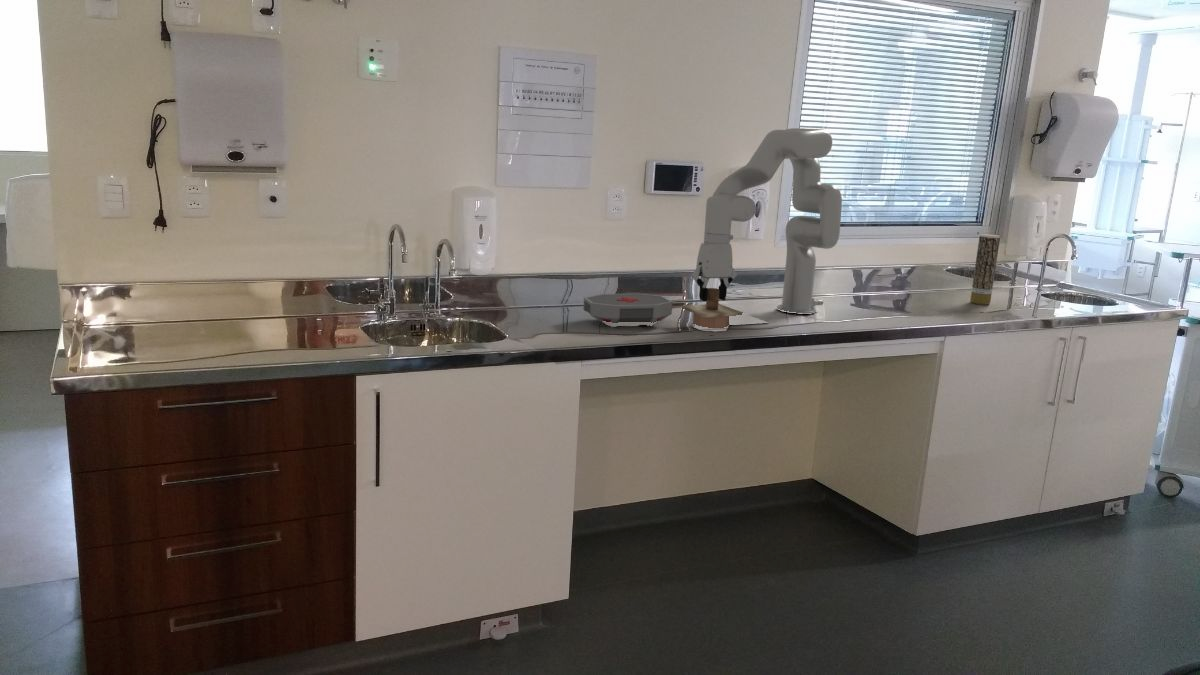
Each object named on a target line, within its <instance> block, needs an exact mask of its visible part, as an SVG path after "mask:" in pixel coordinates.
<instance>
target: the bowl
mask: <svg viewBox="0 0 1200 675" xmlns="http://www.w3.org/2000/svg"><path fill="white" fill-rule="evenodd" d="M692 316H693V317H692V325H693V324H696V325H698V326H702V327H708V328H724V327H727V326H728V325H729V316H719V317H702V316H700V315H697V314H695V313H692Z"/></svg>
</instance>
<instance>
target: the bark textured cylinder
mask: <svg viewBox="0 0 1200 675" xmlns="http://www.w3.org/2000/svg"><path fill="white" fill-rule="evenodd" d="M1000 240H1001V235H998V234H992V233H991V234H988V233H981V234H979V237H978V245H977V251H976V260H975V263H974V264H975V266H974V271H973V278H972V286H971V293H970V300H969V301H970V302H971V304H974V305H979V304H980V306H981V305H982V306H987V305H988V306H989V305H990V304H991V299H992V295H993V287H994V281H995V280H994V279H995V273H996V267H997V263H998V262H997V261H998V253H999V247H1000Z"/></svg>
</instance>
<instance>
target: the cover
mask: <svg viewBox="0 0 1200 675" xmlns="http://www.w3.org/2000/svg"><path fill="white" fill-rule="evenodd" d="M707 288H708V287H707ZM719 301H720V299H719V288H715V287H709V288H708V295H707V301H705V304H689V305H681V308H682V309H683V310H685V311H688V312H690V313H692V314H693V313H695V314H697V315H700V316H702V317H719V316H736V315H742V313H743V312H744V311H740V310H737V309H734V308H731V307H729V306H726V305H725V304H721V303H720V302H719Z"/></svg>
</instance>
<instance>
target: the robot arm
mask: <svg viewBox="0 0 1200 675" xmlns="http://www.w3.org/2000/svg"><path fill="white" fill-rule="evenodd" d="M832 147H833V137H832V135H831V133H830V132H829V131H828V130H826V129H821V128H800V127H798V128H793V127H792V128H785V129H774V130H771V131H769V132H768V133H767V134H766V135H765V136H764V138H763V139H762V141H761V143H760V144H759V146H757V149H756V151H755V152H754V153H753V154H752V156H751V158H750V159H749V161H748V162H747V163H746V164H745V165H743V166H742V167H740V168H739V169H737V170H736V171H734V172H732V173H731V174H729V175H728V176H727V177H724V179H723V180H722V181H721V182H720V183H719V184H718V186H717V187H716V189H715V190H714V192H713V194H712V196H708V198H707V200H706V206H705V216H704V217H705V219H704V220H705V222H704V232H703V233H704V235H703V243H702V242H701V244H700V246H699V249H698V254H697V258H696V267H695V269H694V271H693V272H692V273H691V274H690V277H691V278H692V279H693V280H694V281H695V283H696V284H697V285H698V287H699V292H698V293H699V294H698V297H699V300H700V301H703V302H706V301H707V295H708V287H707V286H708V283H709V281H710V279H719V282H720V285H718V289H719V300H721V301H726V297H727V291H728V288H729V286H730V284H731V283H732V282H733V280H734V279H735V278H737V276H738V273H737V271H736V270H735V269H734V268H733V248H732V244H731V240H733V239H734V236H733V235H732V234H731V232H732V231H731V230H732V229H731V228H732V222H733V221H734V222H738V223H739V222H741V223H745V222H747V221H750V220H751V219H752V218H753V217H755V214H756V211H757V206H756V202H755V201H754V200H753V199H752V198H750V197H748V196H746V195H740V193H742V192H744V191H745V190H748V189H751V188H755V187H759V186H761V185H764V184H767V183H768V182H770V181H771V180H772V179H773V177H774V176H775V174H776V172H777V170H778V169H779V168H780V166H781V165H782V163H783V162H784V160H785V159H786V160H787V159H788V160H789V161H790V163H791V165H792V171H793V172H792V173H793V174H792V191H791V192H792V194H791V197H792V198H791V200H792V201H791V202H792V206H793V208H794V209H795V210H796V211H798V212H800V213H801V212H803V213H809V214H818V215H819V217H817V216H809V215H796V216H793V217H792V218H790V219H789V220H788V221H787V223H786V226H785V239H786V240H785V241H786V256H785V257H786V258H785V268H784V269H785V271H784V277H783V278H784V279H783V289H782V291H783V292H782V299H781V300H782V301H781V304H779V305H777V306H776V309H777V308H778V309H780V310H784V311H789V312H796V313H813V312H815V313H816V308H815V307H816V306H823V304H824V300H823V299H815V298H813V293H814V282H815V272H816V263H817V262H816V261H817V258H816V254H815V252H814V249H813V248H816V249H817V248H818V249H824V250H825V249H826V250H827V249H832V248H834V247H835V246H836V245H837V244H838V241H839V238H840V232H841V221H842V220H841V219H842V205H843V202H842V200H843V197H842V193H841V191H840V188H838V187H837V186H836V185H834V184H830V183H829V184H828V183H822V181H821V165H820V164H821V163H820V161H819V159H820V158H824V157H826V156H827V155H828V154H829V153H830V151H831V150H832ZM738 194H739V195H738Z"/></svg>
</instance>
